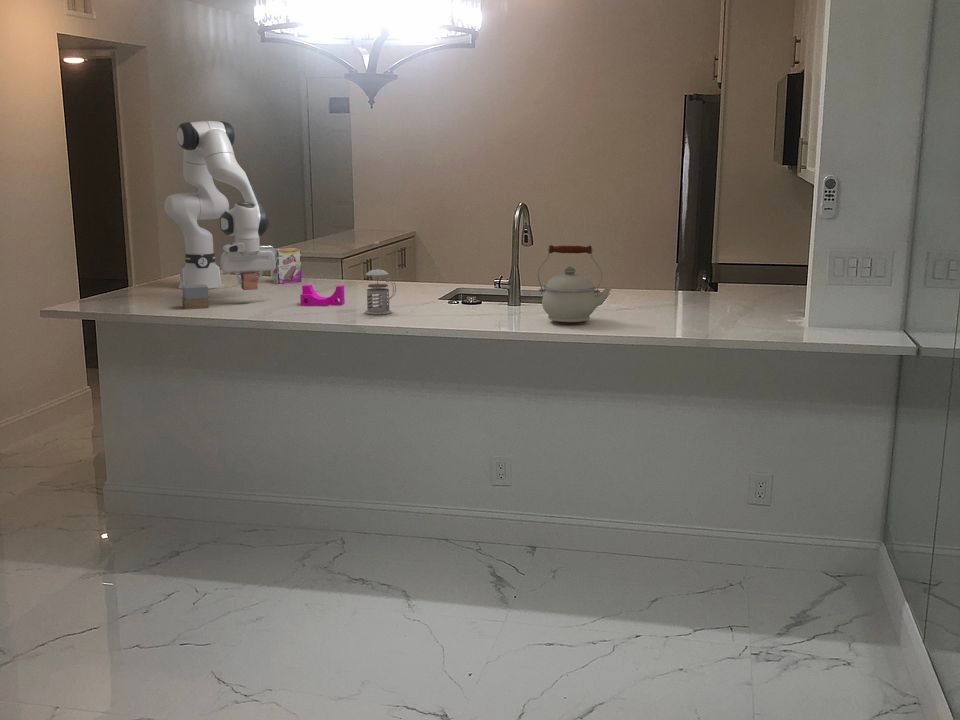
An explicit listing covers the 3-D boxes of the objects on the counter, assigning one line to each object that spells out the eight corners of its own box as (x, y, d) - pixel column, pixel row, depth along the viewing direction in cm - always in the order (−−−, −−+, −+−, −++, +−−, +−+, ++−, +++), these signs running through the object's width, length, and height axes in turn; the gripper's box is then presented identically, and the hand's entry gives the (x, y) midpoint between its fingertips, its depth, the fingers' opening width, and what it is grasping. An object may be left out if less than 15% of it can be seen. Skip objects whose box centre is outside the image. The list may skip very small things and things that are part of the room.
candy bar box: (279, 288, 397) (277, 249, 394) (273, 287, 401) (271, 249, 397) (302, 286, 404) (301, 248, 401) (296, 285, 408) (295, 247, 404)
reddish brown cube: (241, 288, 355) (240, 272, 354) (254, 287, 357) (254, 271, 356) (244, 290, 351) (243, 274, 350) (257, 289, 353) (257, 273, 352)
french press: (372, 309, 340) (370, 240, 335) (401, 311, 336) (400, 241, 331) (359, 313, 331) (357, 242, 326) (389, 315, 327) (387, 243, 322)
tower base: (182, 307, 347) (182, 296, 346) (205, 305, 351) (204, 295, 350) (185, 310, 340) (185, 299, 339) (208, 308, 343) (208, 297, 343)
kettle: (534, 322, 312) (535, 247, 307) (539, 314, 330) (540, 242, 325) (610, 324, 308) (612, 248, 303) (611, 315, 326) (613, 243, 321)
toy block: (300, 306, 348) (300, 286, 346) (305, 304, 354) (305, 284, 352) (340, 307, 346) (339, 287, 344) (344, 305, 352) (344, 285, 351)
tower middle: (182, 296, 347) (182, 285, 346) (205, 295, 350) (204, 284, 349) (185, 299, 340) (185, 288, 339) (208, 297, 343) (207, 286, 342)
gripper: (273, 244, 358) (274, 280, 361) (218, 246, 349) (220, 283, 352) (277, 246, 352) (278, 282, 355) (221, 248, 344) (223, 285, 347)
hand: (249, 283), depth 354 cm, fingers closed on reddish brown cube, 5 cm apart
